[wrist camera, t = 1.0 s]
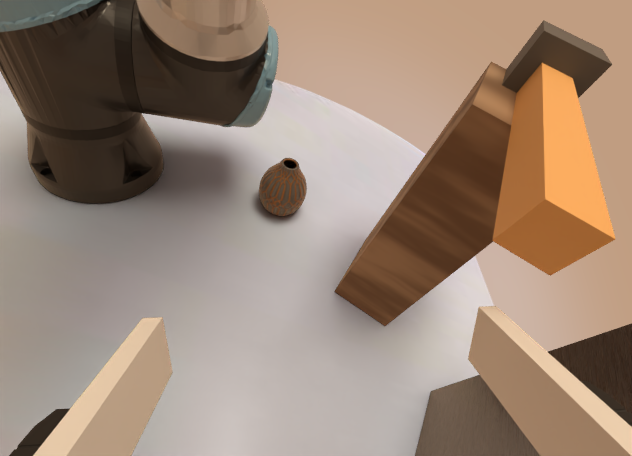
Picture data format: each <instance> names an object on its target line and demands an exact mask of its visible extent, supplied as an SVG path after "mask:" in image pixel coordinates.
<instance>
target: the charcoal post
mask: <svg viewBox="0 0 632 456" xmlns="http://www.w3.org/2000/svg"><path fill="white" fill-rule="evenodd" d="M548 353H549V354H550V355H551V356H552V357H554V358H555V359H556V360H557V361H558V362H559V363H560V364H561V365H563V366H564V367H565V368H566V369H567V370H568V371H569V372H570V373H572V374H573V375H574V376H575V377H576V378H577V379H578V380H579V381H587V382H589V383H591V384H592V385H594V386H596V387H597V388H599V389H601V390H602V391H604V392H606V393H607V394H609V395H610V396H611V397H612V398H613V399H614V400H616V401H617V402H618V403H619V404H620V405H622V406H623V407H624V408H625V409H626V411H627V412H630V413H631V414H632V324H629V325H626V326H623V327H620V328H617V329H614V330H611V331H608V332H605V333H602V334H599V335H596V336H594V337H591V338H587V339H584V340H582V341H578V342H576V343H573V344H570V345H567V346H564V347H561V348H558V349H555V350H552V351H549V352H548ZM415 456H540V455H539V453H538V452H537V451H536V449H535V448H534V447H533V445H532V444H531V443H530V441H529V440H528V439H527V437H526V436H525V435H524V433H523V432H522V431H521V429H520V428H519V427H518V425H517V424H516V423H515V421H514V420H513V418H512V417H511V416H510V414H509V413H508V412H507V410H506V409H505V408H504V406H503V405H502V404H501V402H500V401H499V400H498V398H497V397H496V396H495V394H494V393H493V392H492V390H491V389H490V388H489V386H488V385H487V384H486V382H485V381H484V380H483V378H482V377H481V376H480V375H478V376H475V377H472V378H469V379H466V380H463V381H460V382H457V383H454V384H451V385H448V386H445V387H442V388H439V389H436V390H433V391H431V394H430V398H429V402H428V406H427V410H426V414H425V418H424V422H423V426H422V430H421V434H420V438H419V442H418V446H417V450H416V454H415Z"/></svg>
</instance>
